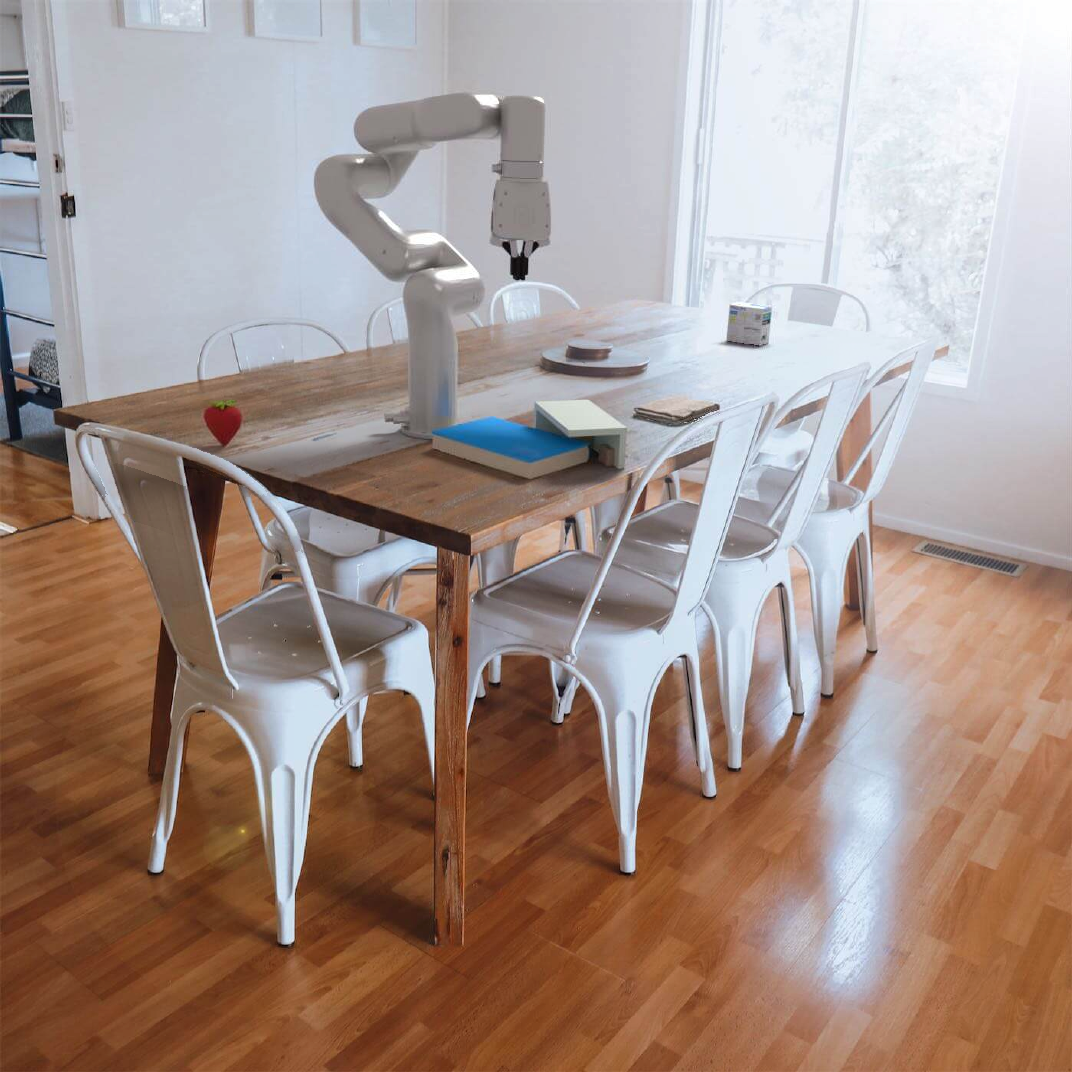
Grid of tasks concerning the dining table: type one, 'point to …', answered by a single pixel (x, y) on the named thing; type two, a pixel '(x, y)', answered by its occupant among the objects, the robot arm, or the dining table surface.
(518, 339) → the dining table surface
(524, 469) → the book
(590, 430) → the shelf
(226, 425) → the strawberry
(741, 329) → the light bulb box
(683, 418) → the washcloth
